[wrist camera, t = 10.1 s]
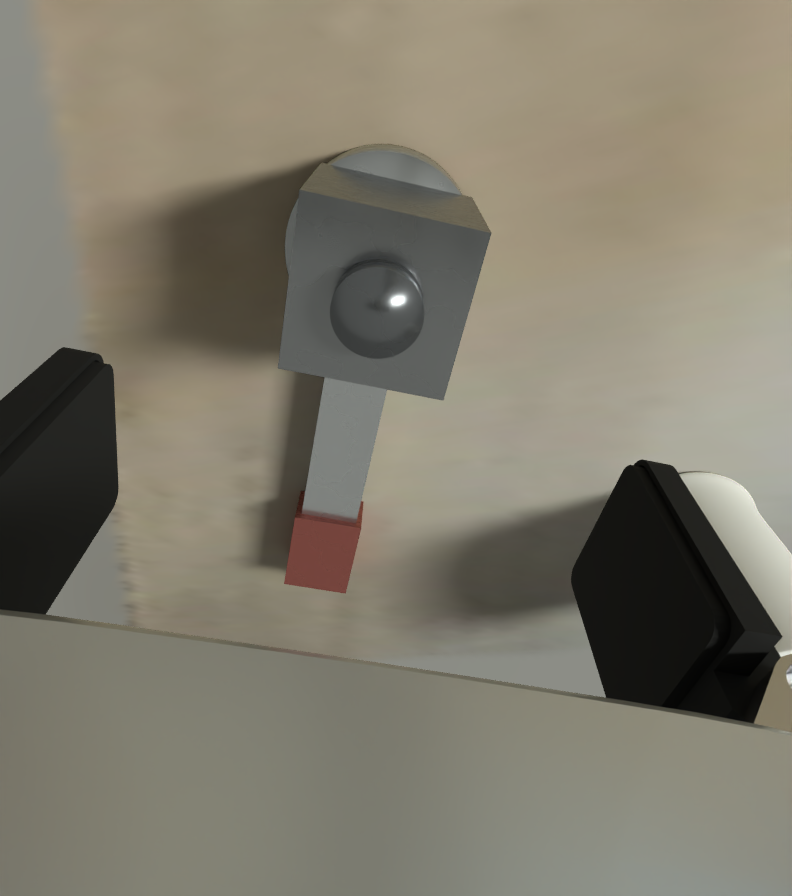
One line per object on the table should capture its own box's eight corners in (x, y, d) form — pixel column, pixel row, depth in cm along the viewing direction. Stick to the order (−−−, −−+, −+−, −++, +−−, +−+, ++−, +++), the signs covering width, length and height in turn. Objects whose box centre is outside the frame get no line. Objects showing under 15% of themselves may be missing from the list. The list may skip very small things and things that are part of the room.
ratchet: (306, 123, 25) (280, 139, 19) (494, 168, 26) (520, 196, 20) (254, 549, 37) (229, 633, 32) (383, 570, 38) (380, 656, 33)
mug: (826, 528, 36) (993, 710, 26) (721, 617, 40) (830, 805, 30) (673, 447, 33) (794, 616, 23) (576, 551, 37) (642, 735, 27)
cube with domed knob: (321, 162, 23) (294, 195, 18) (472, 197, 24) (495, 240, 18) (301, 310, 27) (272, 380, 21) (435, 337, 27) (445, 413, 21)
